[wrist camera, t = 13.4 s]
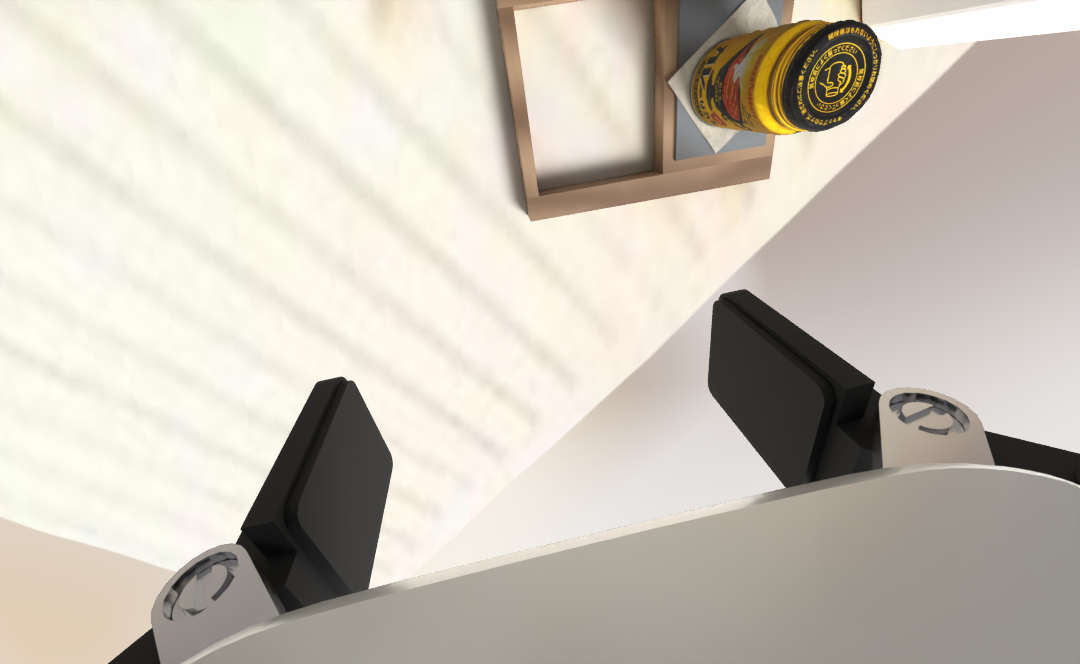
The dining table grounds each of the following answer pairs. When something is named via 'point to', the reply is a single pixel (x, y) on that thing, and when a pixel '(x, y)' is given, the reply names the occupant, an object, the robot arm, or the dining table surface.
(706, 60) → the condiment
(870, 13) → the cup
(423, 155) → the dining table surface
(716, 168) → the pocket board
